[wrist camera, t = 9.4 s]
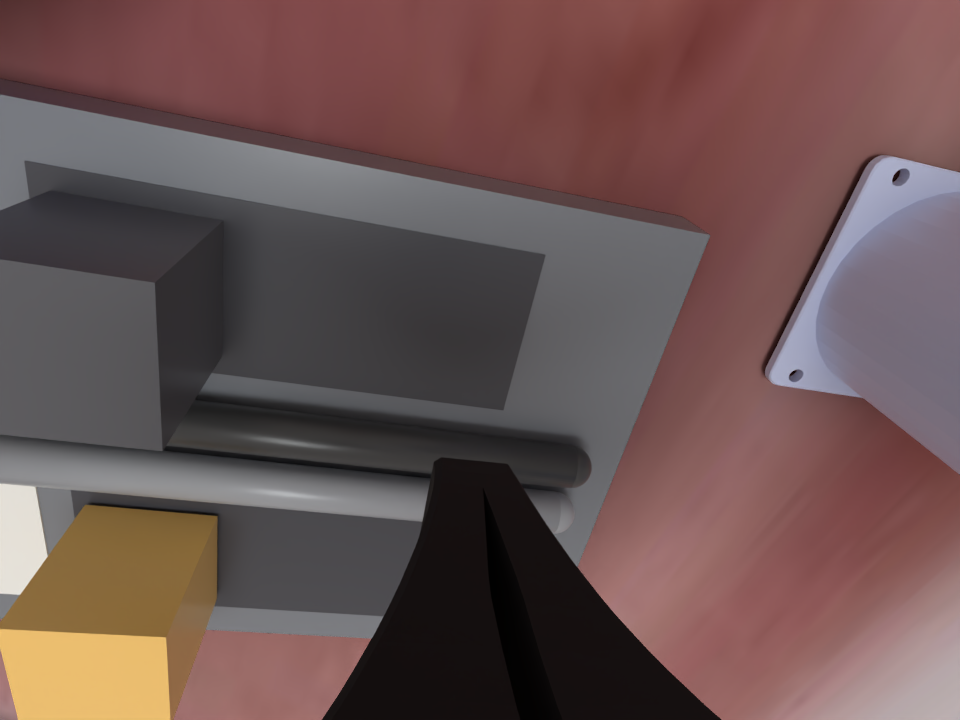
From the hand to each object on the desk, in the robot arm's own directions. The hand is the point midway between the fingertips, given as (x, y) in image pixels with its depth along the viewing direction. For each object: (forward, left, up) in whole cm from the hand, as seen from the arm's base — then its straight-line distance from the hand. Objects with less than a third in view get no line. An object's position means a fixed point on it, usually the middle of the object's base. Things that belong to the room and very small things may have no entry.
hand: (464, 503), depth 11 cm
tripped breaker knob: (+8, +10, -7) cm, 15 cm away
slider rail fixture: (+4, +5, -9) cm, 11 cm away
